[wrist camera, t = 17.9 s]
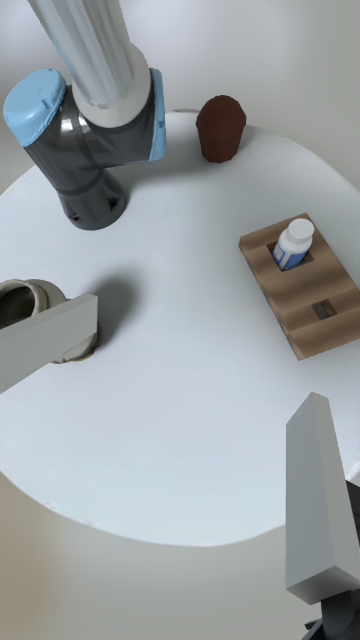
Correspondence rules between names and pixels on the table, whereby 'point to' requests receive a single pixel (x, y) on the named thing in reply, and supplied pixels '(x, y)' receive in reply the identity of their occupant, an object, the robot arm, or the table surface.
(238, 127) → the muffin
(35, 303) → the apothecary jar
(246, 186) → the table surface
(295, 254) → the pill bottle
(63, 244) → the table surface
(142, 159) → the robot arm
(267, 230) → the socket board
